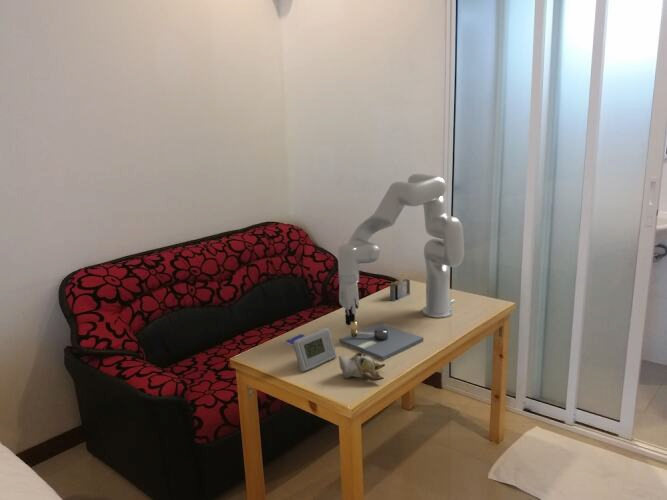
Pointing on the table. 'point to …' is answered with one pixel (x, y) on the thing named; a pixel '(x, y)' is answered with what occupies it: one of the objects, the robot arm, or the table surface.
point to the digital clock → (314, 349)
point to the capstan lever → (377, 334)
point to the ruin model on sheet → (399, 289)
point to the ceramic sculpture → (360, 367)
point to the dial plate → (382, 342)
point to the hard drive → (290, 341)
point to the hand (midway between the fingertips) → (350, 323)
